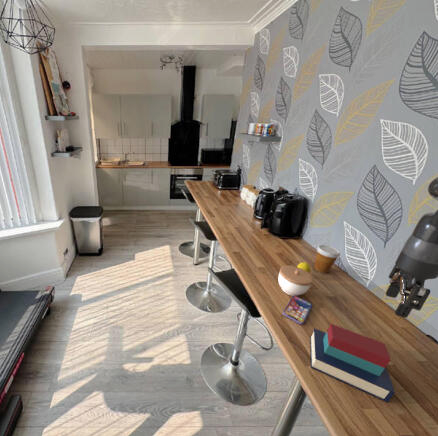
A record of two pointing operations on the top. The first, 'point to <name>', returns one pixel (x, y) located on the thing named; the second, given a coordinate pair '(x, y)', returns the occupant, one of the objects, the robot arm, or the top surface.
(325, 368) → the big book
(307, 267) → the lemon
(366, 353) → the red rectangular block
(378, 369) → the teal rectangular block
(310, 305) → the smartphone
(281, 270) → the lidded bowl
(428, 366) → the top surface
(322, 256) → the disposable coffee cup
